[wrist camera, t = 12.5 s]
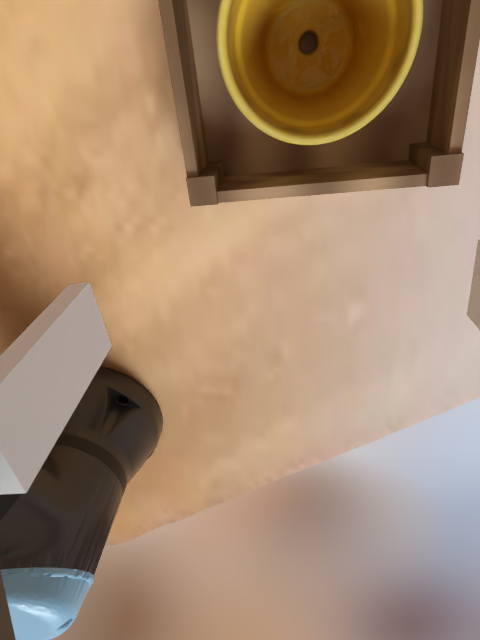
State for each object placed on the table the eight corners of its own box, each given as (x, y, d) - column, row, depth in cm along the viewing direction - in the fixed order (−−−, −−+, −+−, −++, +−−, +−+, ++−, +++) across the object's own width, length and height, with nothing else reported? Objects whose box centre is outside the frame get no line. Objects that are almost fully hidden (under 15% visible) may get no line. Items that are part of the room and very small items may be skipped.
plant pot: (245, -64, 26) (228, -125, 18) (404, -38, 26) (461, -86, 18) (225, 114, 32) (206, 130, 24) (357, 136, 32) (384, 160, 24)
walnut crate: (204, 186, 36) (190, 206, 30) (160, -114, 26) (130, -160, 21) (430, 166, 33) (458, 184, 28) (472, -171, 24) (527, -239, 19)
